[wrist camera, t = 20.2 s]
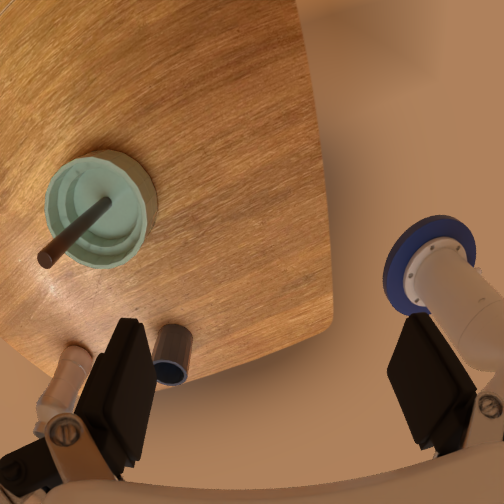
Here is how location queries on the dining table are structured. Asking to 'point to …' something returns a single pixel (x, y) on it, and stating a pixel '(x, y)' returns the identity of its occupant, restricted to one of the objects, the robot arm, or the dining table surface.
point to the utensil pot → (172, 354)
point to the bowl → (115, 219)
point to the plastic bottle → (63, 386)
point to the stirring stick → (72, 233)
